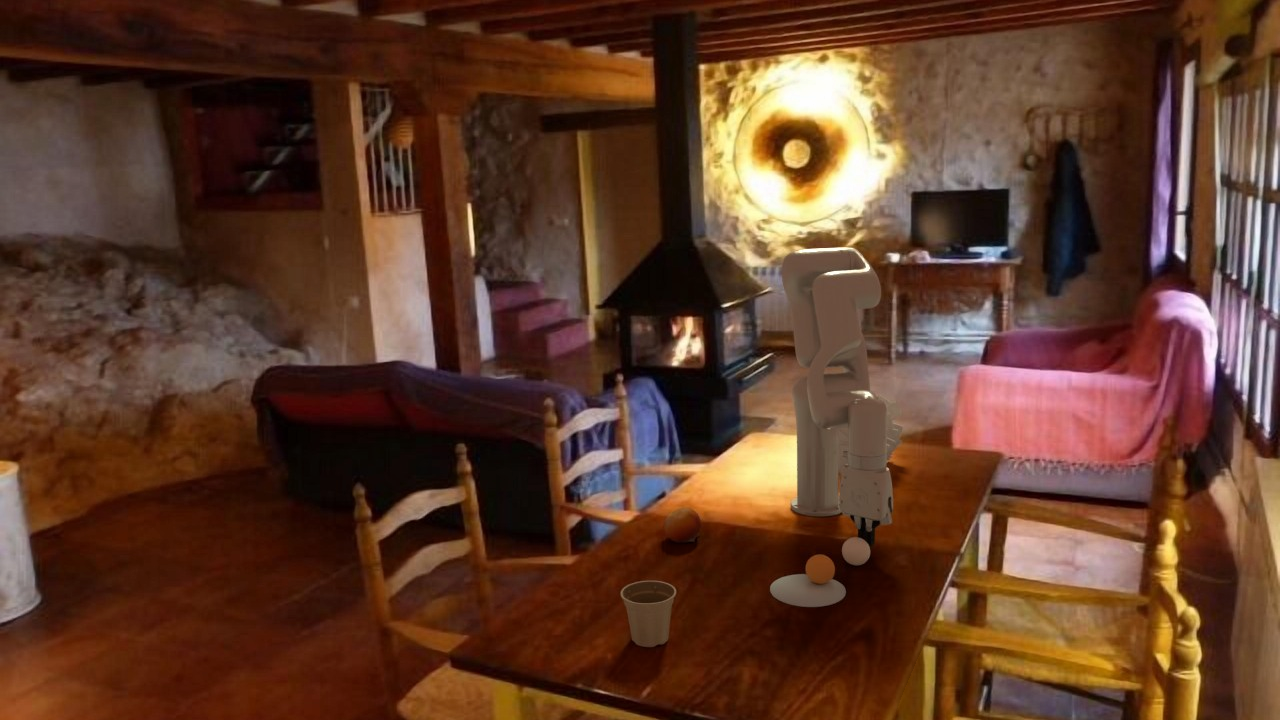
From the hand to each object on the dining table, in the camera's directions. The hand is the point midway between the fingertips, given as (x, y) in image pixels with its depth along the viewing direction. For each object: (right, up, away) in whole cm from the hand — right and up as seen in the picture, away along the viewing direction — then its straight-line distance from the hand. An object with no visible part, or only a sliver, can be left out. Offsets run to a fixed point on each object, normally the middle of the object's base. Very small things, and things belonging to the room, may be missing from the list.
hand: (866, 546), depth 194 cm
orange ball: (-12, -2, -13) cm, 18 cm away
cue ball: (-3, 0, -5) cm, 6 cm away
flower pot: (-44, -10, -32) cm, 56 cm away
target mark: (-15, -5, -16) cm, 22 cm away
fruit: (-37, -1, +12) cm, 39 cm away
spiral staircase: (+13, +10, +56) cm, 58 cm away
